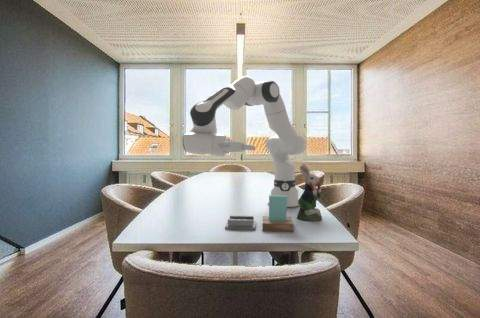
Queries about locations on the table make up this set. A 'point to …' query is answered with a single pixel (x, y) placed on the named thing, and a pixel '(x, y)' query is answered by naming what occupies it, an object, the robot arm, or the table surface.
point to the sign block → (277, 207)
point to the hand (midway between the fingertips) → (254, 148)
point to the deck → (277, 225)
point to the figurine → (309, 197)
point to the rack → (241, 222)
